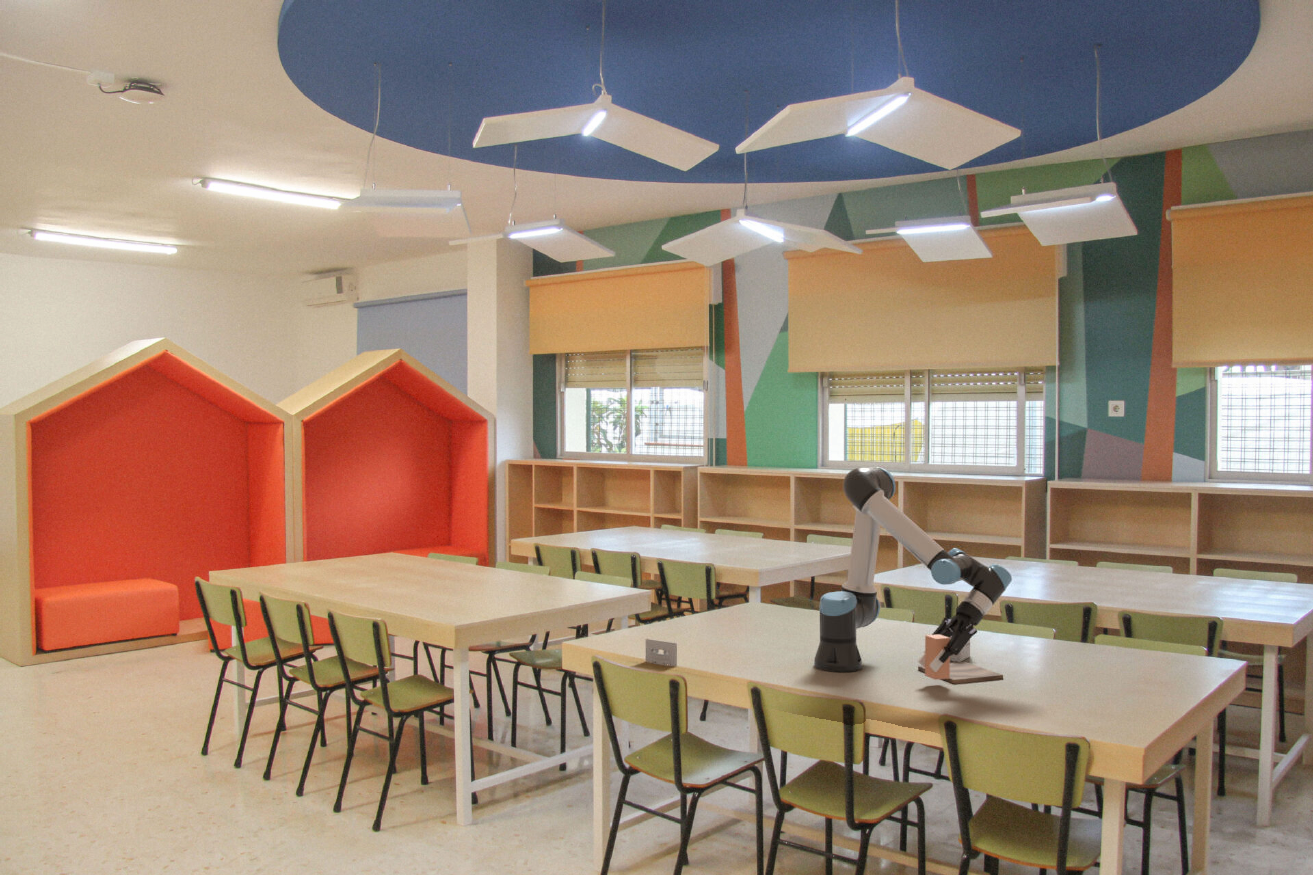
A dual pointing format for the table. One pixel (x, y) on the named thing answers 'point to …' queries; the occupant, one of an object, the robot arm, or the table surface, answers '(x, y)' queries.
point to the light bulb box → (961, 653)
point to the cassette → (661, 658)
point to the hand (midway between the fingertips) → (926, 666)
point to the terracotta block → (931, 651)
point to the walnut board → (968, 673)
